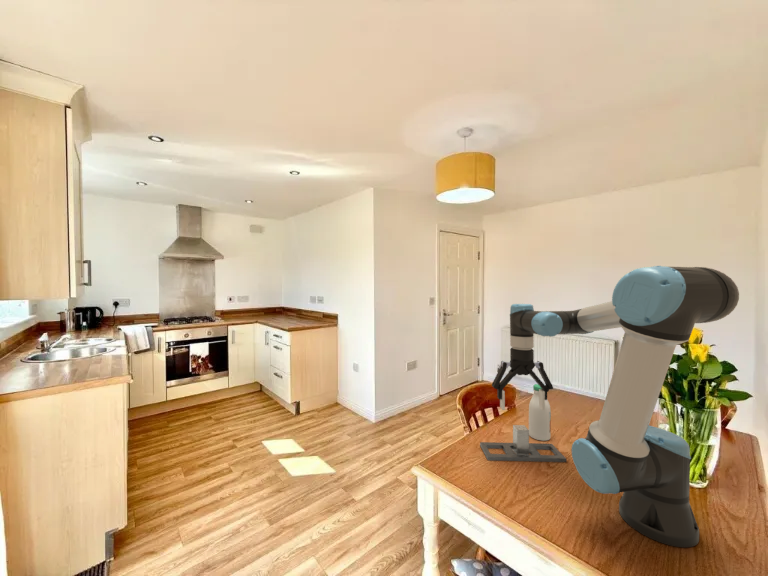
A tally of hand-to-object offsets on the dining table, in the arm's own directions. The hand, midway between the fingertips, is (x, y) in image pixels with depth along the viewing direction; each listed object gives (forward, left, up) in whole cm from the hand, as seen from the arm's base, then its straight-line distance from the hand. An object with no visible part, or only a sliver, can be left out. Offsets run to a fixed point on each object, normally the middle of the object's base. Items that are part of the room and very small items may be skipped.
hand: (522, 408), depth 112 cm
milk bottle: (+13, -12, -16) cm, 24 cm away
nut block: (+1, 0, -16) cm, 16 cm away
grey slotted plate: (0, 0, -16) cm, 16 cm away
